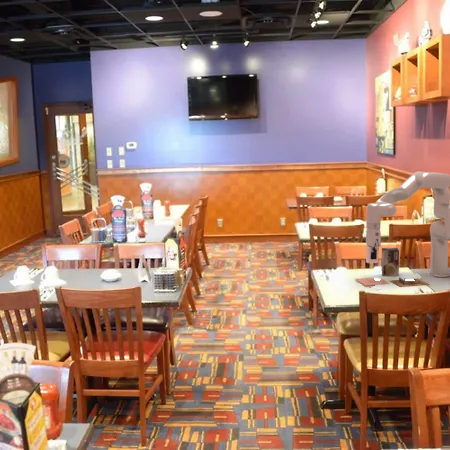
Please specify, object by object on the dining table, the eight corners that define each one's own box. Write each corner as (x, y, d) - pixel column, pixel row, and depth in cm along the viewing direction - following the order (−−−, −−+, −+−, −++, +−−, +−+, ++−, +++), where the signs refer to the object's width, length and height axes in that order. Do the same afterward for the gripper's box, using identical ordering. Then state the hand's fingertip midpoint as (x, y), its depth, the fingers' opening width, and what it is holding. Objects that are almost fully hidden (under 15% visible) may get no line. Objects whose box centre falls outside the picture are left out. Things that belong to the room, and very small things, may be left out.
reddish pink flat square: (378, 278, 346) (378, 277, 346) (389, 285, 332) (389, 283, 332) (355, 280, 343) (355, 278, 343) (365, 286, 330) (365, 285, 329)
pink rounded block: (375, 261, 338) (376, 245, 336) (378, 262, 335) (378, 246, 333) (365, 262, 336) (366, 246, 335) (368, 263, 333) (368, 247, 332)
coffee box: (396, 274, 354) (397, 247, 351) (398, 277, 348) (399, 250, 345) (380, 274, 355) (381, 247, 352) (382, 277, 349) (383, 249, 346)
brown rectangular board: (417, 279, 342) (417, 274, 341) (430, 286, 328) (430, 280, 328) (388, 282, 338) (388, 276, 338) (399, 288, 325) (400, 282, 324)
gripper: (386, 227, 325) (385, 261, 328) (373, 223, 341) (372, 255, 344) (373, 228, 324) (372, 262, 327) (360, 223, 339) (359, 255, 342)
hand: (372, 258), depth 335 cm, fingers closed on pink rounded block, 2 cm apart
